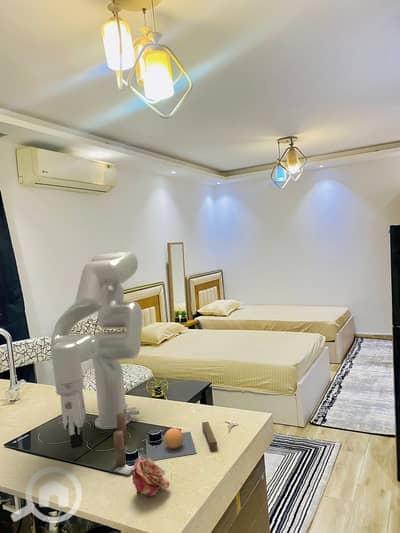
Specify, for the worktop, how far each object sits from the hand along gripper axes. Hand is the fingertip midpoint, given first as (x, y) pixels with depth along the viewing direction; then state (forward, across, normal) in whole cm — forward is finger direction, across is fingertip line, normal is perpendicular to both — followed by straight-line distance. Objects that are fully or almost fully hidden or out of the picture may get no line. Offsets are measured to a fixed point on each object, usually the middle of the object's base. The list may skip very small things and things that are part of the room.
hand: (77, 446), depth 114 cm
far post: (+4, +5, -12) cm, 14 cm away
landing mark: (+4, -2, -26) cm, 27 cm away
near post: (+3, -8, -12) cm, 15 cm away
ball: (+1, -3, -28) cm, 28 cm away
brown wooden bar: (+4, -2, -38) cm, 39 cm away
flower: (+3, -24, -20) cm, 31 cm away
